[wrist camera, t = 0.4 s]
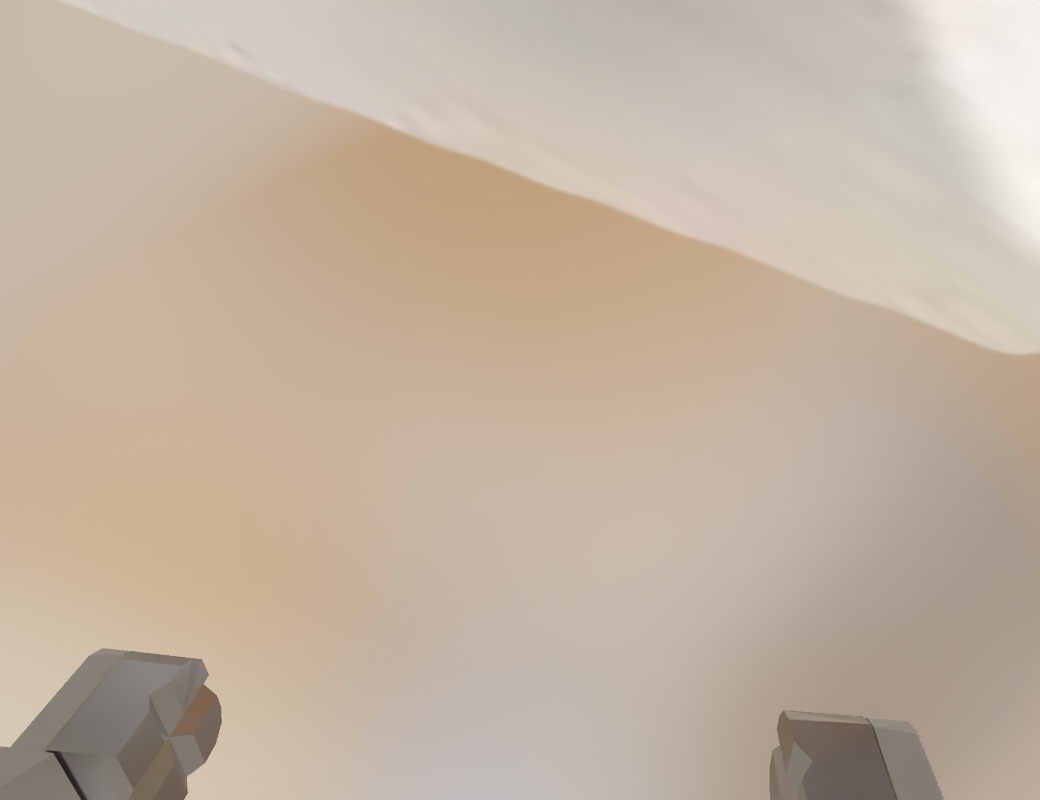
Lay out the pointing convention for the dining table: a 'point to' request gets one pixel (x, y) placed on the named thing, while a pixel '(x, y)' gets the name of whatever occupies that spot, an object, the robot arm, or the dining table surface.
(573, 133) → the dining table surface
